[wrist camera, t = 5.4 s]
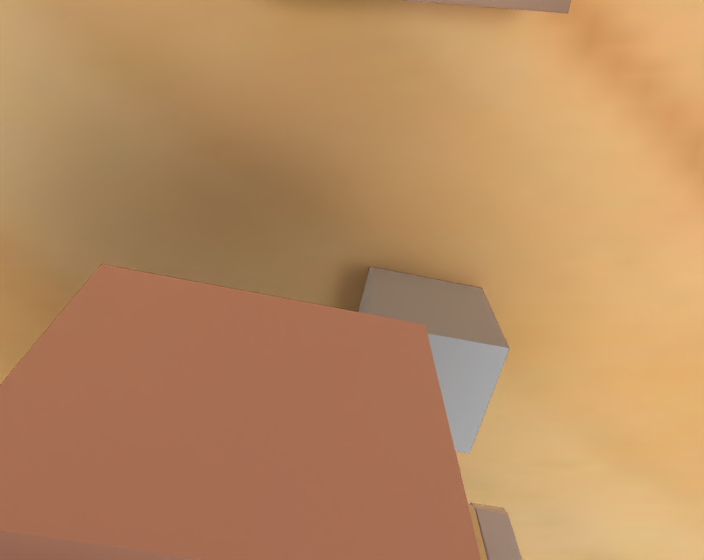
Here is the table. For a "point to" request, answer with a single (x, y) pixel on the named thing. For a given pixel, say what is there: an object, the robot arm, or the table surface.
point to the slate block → (447, 340)
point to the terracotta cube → (226, 432)
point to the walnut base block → (513, 4)
